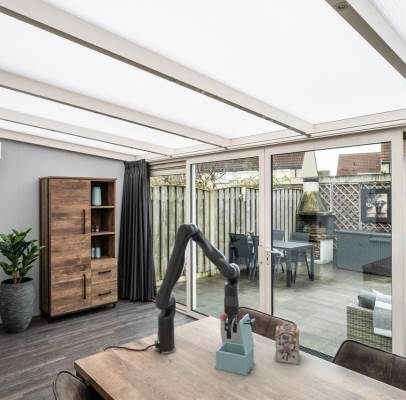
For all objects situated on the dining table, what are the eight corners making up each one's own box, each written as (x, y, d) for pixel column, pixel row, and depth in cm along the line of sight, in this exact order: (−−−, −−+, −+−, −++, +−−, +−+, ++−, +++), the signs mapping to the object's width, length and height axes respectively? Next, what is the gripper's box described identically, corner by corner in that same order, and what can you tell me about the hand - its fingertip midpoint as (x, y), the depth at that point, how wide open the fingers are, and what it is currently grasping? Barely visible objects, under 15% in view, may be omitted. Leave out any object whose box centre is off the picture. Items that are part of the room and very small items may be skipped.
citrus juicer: (252, 343, 193) (252, 309, 193) (241, 355, 178) (240, 318, 179) (228, 338, 201) (228, 305, 202) (215, 349, 187) (215, 313, 187)
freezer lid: (239, 321, 159) (249, 321, 156) (247, 313, 170) (257, 313, 168) (245, 356, 157) (255, 356, 155) (252, 346, 168) (263, 346, 166)
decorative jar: (299, 355, 177) (299, 321, 178) (299, 365, 166) (298, 329, 167) (276, 352, 181) (276, 319, 182) (275, 361, 170) (274, 326, 171)
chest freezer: (216, 368, 164) (215, 350, 164) (225, 358, 175) (225, 341, 176) (246, 375, 157) (245, 357, 157) (253, 364, 168) (253, 347, 168)
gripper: (229, 299, 176) (230, 329, 175) (219, 306, 163) (219, 339, 163) (243, 300, 172) (243, 332, 172) (233, 308, 159) (234, 342, 159)
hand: (231, 335), depth 167 cm, fingers open, 8 cm apart
